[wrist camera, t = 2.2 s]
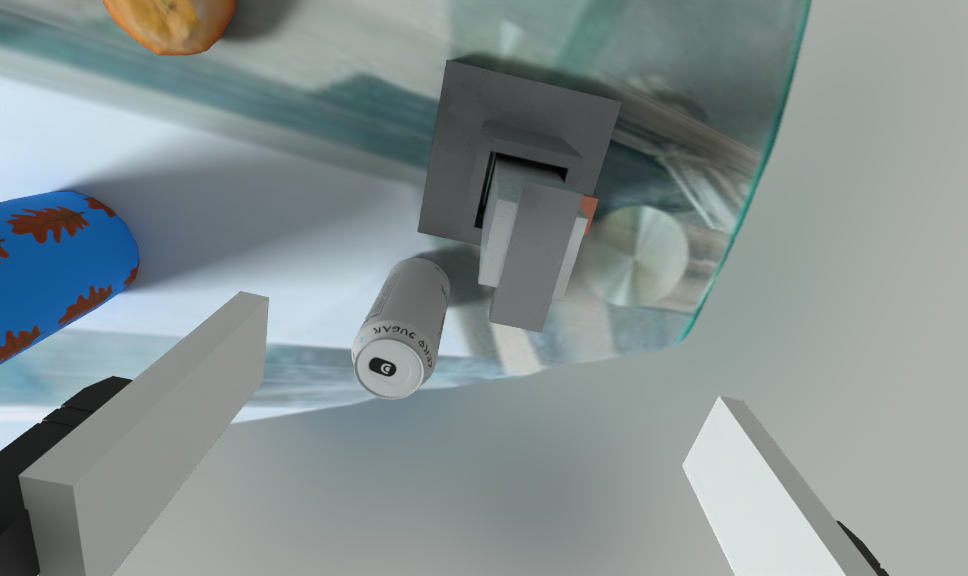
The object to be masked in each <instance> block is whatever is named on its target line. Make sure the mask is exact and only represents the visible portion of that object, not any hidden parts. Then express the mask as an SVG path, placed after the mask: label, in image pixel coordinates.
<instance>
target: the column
mask: <svg viewBox="0 0 968 576" xmlns="http://www.w3.org/2000/svg"><path fill="white" fill-rule="evenodd" d="M583 195H584V194H583V193H582V192H581V191H580V189H579V188H576V187H572V186H567V185H565V183H564V182H563V180H562V179H561V177H560V176H559V174H558V173H557V171H556V170H555V168H554V167H553V165H551V164H547V163H542V162H538V161H533V160H529V159H525V158H520V157H516V156H512V155H507V154H503V153H498V152H493V157H492V162H491V166H490V171H489V175H488V180H487V184H486V189H485V194H484V198H483V205H484V213H483V227H482V240H481V253H480V267H479V280H478V284H483V285H487V286H492V287H495V290H494V294H493V298H492V302H491V306H490V313H489V322H492V323H497V324H502V325H507V326H512V327H517V328H522V329H527V330H532V331H536V332H542V329H543V326H544V322H545V319H546V316H547V313H548V309H549V306H550V303H551V299H555V300H559V301H563V298H564V295H565V292H566V289H567V285H568V282H569V279H570V276H571V273H572V270H573V266H574V263H575V260H576V257H577V254H578V251H579V247H580V244H581V241H582V238H583V235H584V232H585V228H586V225H587V222H588V218H587V216H586V215H585V213H584V212H583V210H582V209H581V207H580V204H581V201H582V198H583Z"/></svg>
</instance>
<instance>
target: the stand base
mask: <svg viewBox="0 0 968 576" xmlns="http://www.w3.org/2000/svg"><path fill="white" fill-rule="evenodd" d="M621 104H622V102H620V101H616V100H612V99H608V98H604V97H599V96H595V95H591V94H587V93H583V92H579V91H575V90H570V89H566V88H562V87H558V86H554V85H550V84H545V83H541V82H537V81H533V80H529V79H525V78H520V77H516V76H512V75H508V74H504V73H500V72H495V71H491V70H487V69H483V68H479V67H475V66H470V65H466V64H462V63H458V62H454V61H450V60H447V61H446V67H445V73H444V79H443V85H442V91H441V96H440V102H439V108H438V114H437V120H436V126H435V132H434V138H433V144H432V150H431V156H430V161H429V167H428V173H427V179H426V185H425V191H424V197H423V203H422V209H421V215H420V220H419V226H418V232H420V233H424V234H429V235H434V236H438V237H443V238H448V239H452V240H457V241H462V242H466V243H471V244H476V245H480V246H481V240H482V227H483V213H484V205H483V198H484V194H485V189H486V184H487V180H488V175H489V171H490V166H491V162H492V157H493V152H498V153H503V154H507V155H512V156H516V157H520V158H525V159H529V160H533V161H538V162H542V163H547V164H551V165H553V167H554V168H555V170H556V171H557V173H558V174H559V176H560V177H561V179H562V180H563V182H564V183H565V185H567V186H572V187H576V188H579V189H580V191H581V192H582V193H583V194H584V195H583V198H582V201H581V204H580V207H581V209H582V210H583V212H584V213H585V215H586V216H587V218H588V222H587V225H586V228H585V232H584V235H588V231H589V228H590V225H591V222H592V219H593V216H594V213H595V209H596V206H597V203H598V200H599V199H598V198H597V197H596V196H593V194H594V190H595V187H596V184H597V181H598V178H599V174H600V171H601V168H602V165H603V162H604V158H605V155H606V152H607V149H608V146H609V143H610V139H611V136H612V133H613V130H614V127H615V123H616V120H617V117H618V114H619V111H620V107H621Z"/></svg>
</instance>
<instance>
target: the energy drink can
mask: <svg viewBox="0 0 968 576" xmlns="http://www.w3.org/2000/svg"><path fill="white" fill-rule="evenodd" d="M449 295H450V283H449V280H448V277H447V275H446V274H445V272H444V271H443V270H442V268H441V267H439V266H438V265H437V264H436V263H434V262H432V261H430V260H427V259H423V258H410V259H406V260H404V261H402V262H400V263H398V264H397V265H396V266H395V267H394V268H393V269H392V270H391V272H390V274H389V275H388V277H387V279H386V281H385V283H384V285H383V287H382V289H381V291H380V292H379V294H378V296H377V298H376V300H375V302H374V304H373V306H372V308H371V310H370V311H369V313H368V315H367V317H366V319H365V321H364V323H363V325H362V327H361V328H360V330H359V332H358V334H357V336H356V338H355V340H354V342H353V346H352V360H353V364H354V373H355V376H356V378H357V380H358V382H359V383H360V385H361V386H362V387H363V388H364V389H365V390H366V391H368V392H369V393H371V394H373V395H375V396H377V397H380V398H384V399H400V398H404V397H406V396H409V395H411V394H412V393H414V392H415V391H416V390H417V389H418V388H419V387H420V386H421V385H422V384H424V383H425V382H426V381H427V380H428V379H429V378H430V376H431V374H432V373H433V371H434V368H435V364H436V359H437V354H438V349H439V344H440V339H441V335H442V330H443V325H444V320H445V315H446V310H447V305H448V300H449Z"/></svg>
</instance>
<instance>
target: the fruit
mask: <svg viewBox="0 0 968 576" xmlns="http://www.w3.org/2000/svg"><path fill="white" fill-rule="evenodd" d="M102 1H103V3H104V5H105V7H106V9H107V10H108V12H109V14H110V15H111V16H112V18H113V19H114V21H115V22H116V23H117V24H118V25H119V26H120V27H121V28H122V29H123V30H124V31H125V32H127V33H128V34H129V35H130V36H131V37H132V38H134V39H135V40H136V41H137V42H139V43H140V44H142V45H143V46H144V47H146V48H148V49H150V50H152V51H153V52H154V53H156V54H158V55H169V56H171V55H193V54H197V53H201V52H204V51H207V50H208V49H209V48H210V47H211V46H212V45H213V44H214V43H215V42H217V41H218V40H219V38H220V37H221V36H222V34H223V32H224V30H225V29H226V27H227V25H228V23H229V22H230V20H231V18H232V16H233V15H234V12H235V2H236V0H102Z"/></svg>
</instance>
